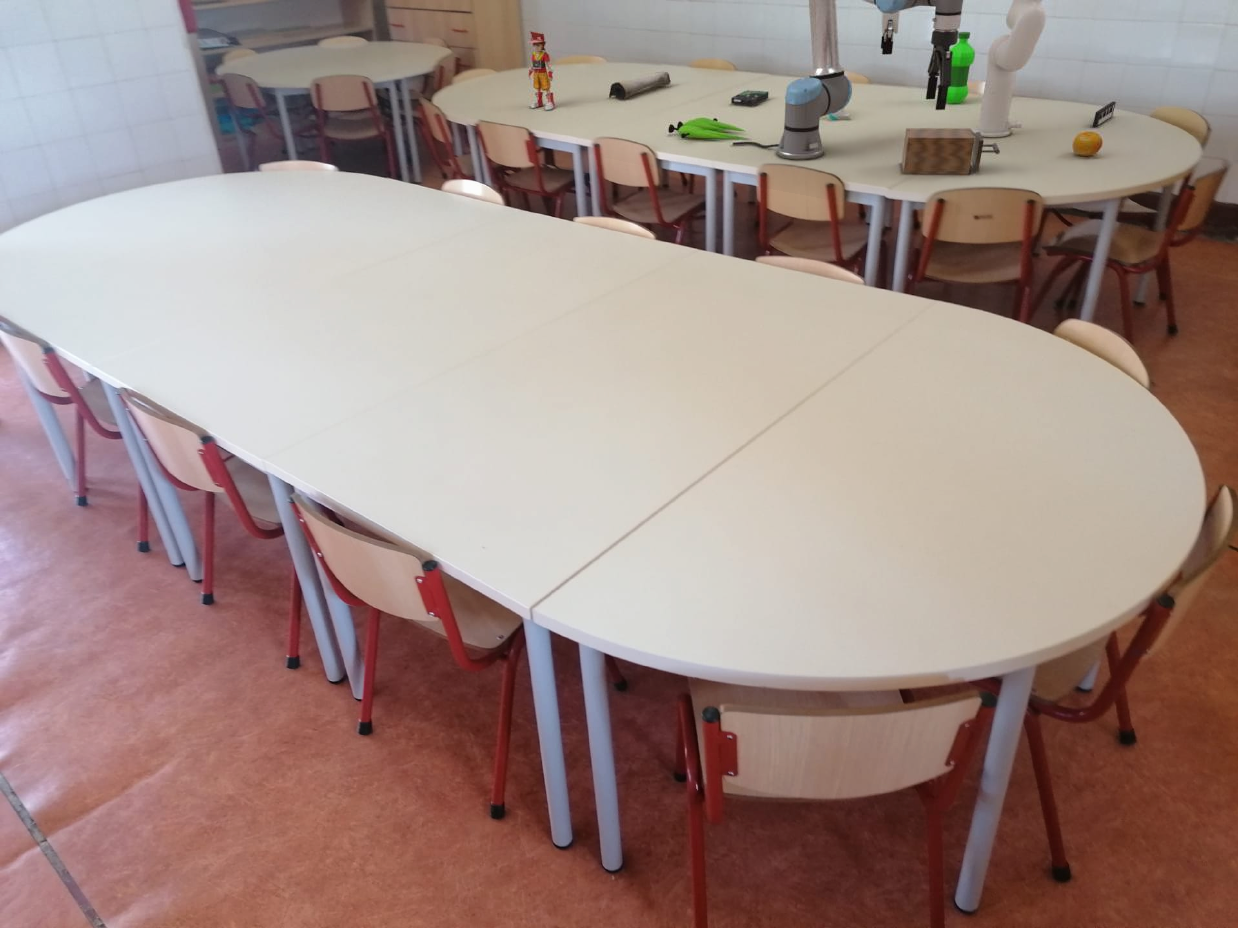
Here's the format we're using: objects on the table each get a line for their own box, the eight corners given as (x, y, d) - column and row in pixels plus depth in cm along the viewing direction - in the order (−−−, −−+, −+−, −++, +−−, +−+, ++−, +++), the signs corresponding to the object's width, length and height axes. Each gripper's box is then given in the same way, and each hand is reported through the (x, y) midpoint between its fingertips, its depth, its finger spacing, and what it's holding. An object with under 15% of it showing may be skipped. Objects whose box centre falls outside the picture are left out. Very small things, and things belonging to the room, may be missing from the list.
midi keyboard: (1096, 127, 316) (1099, 112, 313) (1092, 126, 317) (1095, 112, 314) (1112, 116, 326) (1116, 101, 323) (1108, 115, 327) (1112, 101, 324)
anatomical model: (813, 89, 348) (838, 82, 348) (816, 116, 354) (841, 109, 353) (823, 98, 336) (849, 91, 335) (826, 126, 342) (852, 119, 341)
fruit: (1068, 146, 288) (1086, 124, 285) (1065, 149, 295) (1083, 127, 292) (1091, 161, 286) (1109, 138, 283) (1087, 163, 294) (1105, 141, 291)
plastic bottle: (973, 101, 354) (984, 32, 339) (955, 106, 349) (966, 36, 335) (952, 97, 361) (962, 29, 346) (934, 102, 356) (944, 33, 342)
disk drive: (753, 107, 365) (768, 98, 375) (754, 100, 363) (769, 91, 373) (730, 105, 370) (746, 96, 380) (730, 98, 368) (746, 89, 378)
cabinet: (964, 164, 290) (970, 128, 284) (968, 174, 281) (974, 138, 275) (901, 163, 294) (906, 128, 288) (903, 174, 285) (908, 137, 279)
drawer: (992, 161, 288) (998, 132, 282) (997, 171, 280) (1002, 140, 275) (915, 161, 292) (919, 132, 287) (917, 170, 284) (921, 140, 279)
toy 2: (657, 137, 330) (731, 151, 317) (658, 122, 327) (732, 136, 314) (693, 125, 350) (763, 137, 338) (694, 111, 347) (764, 123, 335)
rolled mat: (651, 76, 408) (662, 61, 399) (662, 93, 408) (674, 79, 400) (605, 92, 391) (616, 77, 383) (617, 110, 391) (628, 95, 383)
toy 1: (525, 109, 381) (517, 32, 364) (534, 104, 388) (527, 28, 371) (550, 110, 377) (543, 32, 360) (559, 105, 384) (553, 28, 367)
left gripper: (923, 23, 278) (914, 95, 290) (942, 38, 258) (931, 115, 270) (948, 22, 277) (938, 94, 289) (969, 37, 257) (957, 114, 269)
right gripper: (905, -2, 286) (899, 56, 296) (902, -9, 300) (896, 46, 309) (881, -1, 287) (875, 57, 297) (879, -9, 301) (873, 46, 311)
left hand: (935, 104), depth 280 cm, fingers open, 13 cm apart
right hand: (886, 51), depth 303 cm, fingers open, 9 cm apart
